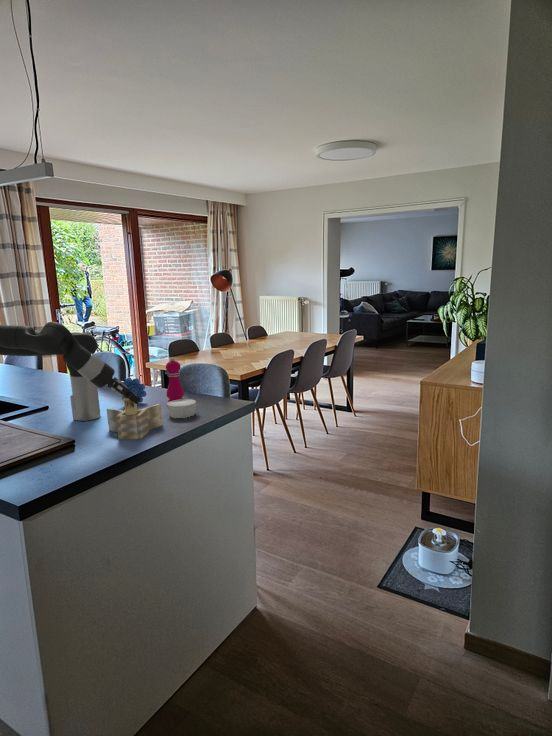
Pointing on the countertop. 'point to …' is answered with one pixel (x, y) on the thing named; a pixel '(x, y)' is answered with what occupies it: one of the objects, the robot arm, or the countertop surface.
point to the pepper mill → (174, 381)
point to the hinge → (134, 422)
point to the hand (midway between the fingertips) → (136, 400)
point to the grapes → (135, 387)
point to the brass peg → (130, 407)
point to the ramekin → (181, 408)
